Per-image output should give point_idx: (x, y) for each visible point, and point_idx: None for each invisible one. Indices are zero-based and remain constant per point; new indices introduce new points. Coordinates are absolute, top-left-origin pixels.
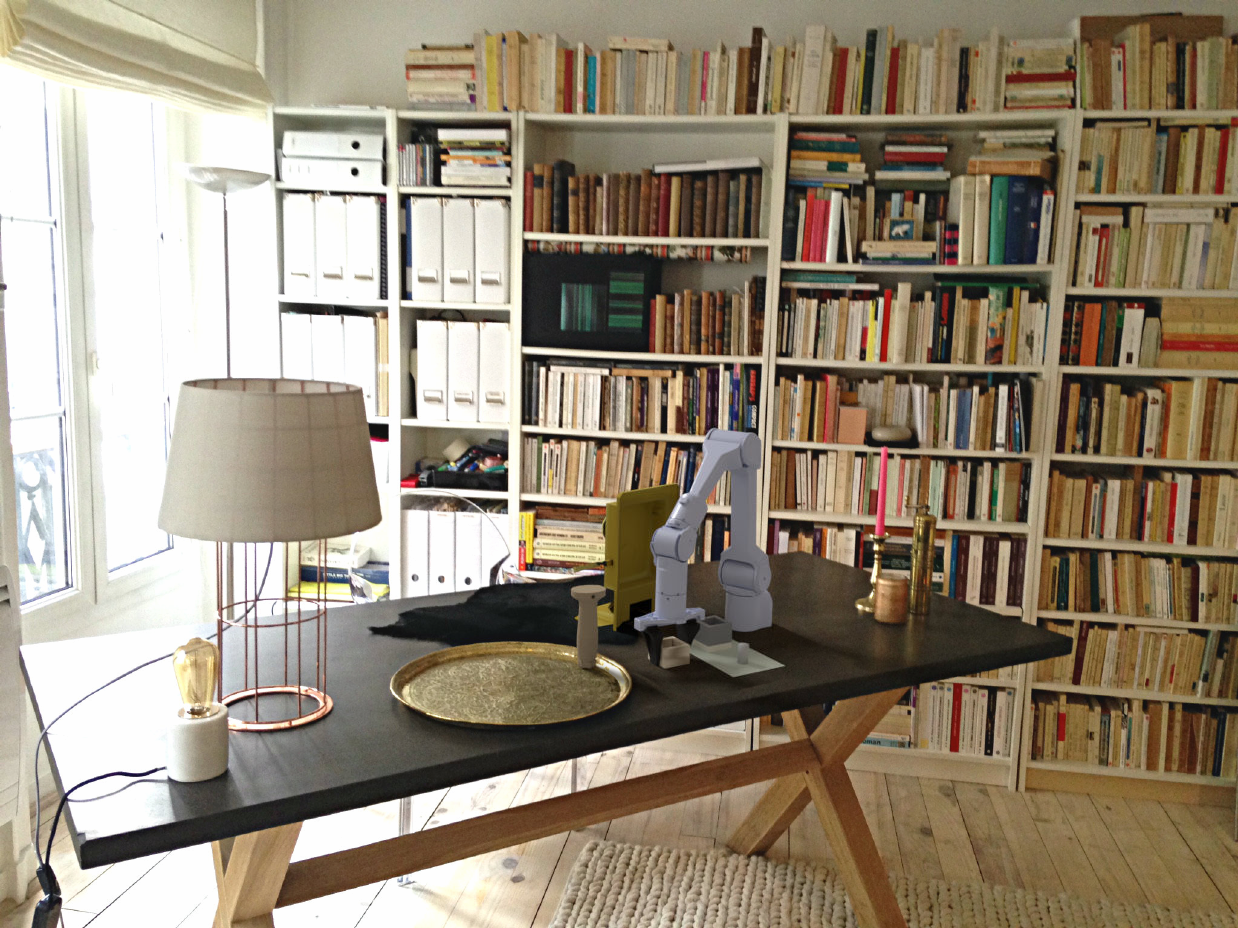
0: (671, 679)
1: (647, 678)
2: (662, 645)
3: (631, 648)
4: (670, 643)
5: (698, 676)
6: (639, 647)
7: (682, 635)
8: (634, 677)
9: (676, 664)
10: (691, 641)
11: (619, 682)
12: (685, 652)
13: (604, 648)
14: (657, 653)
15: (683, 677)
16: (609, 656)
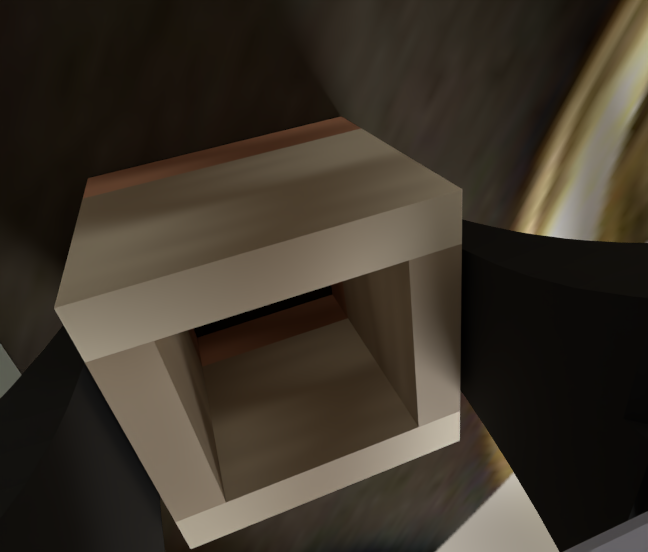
0: (314, 24)
1: (468, 104)
2: (318, 417)
3: (335, 520)
4: (233, 452)
5: (18, 12)
6: (292, 534)
7: (125, 515)
8: (527, 145)
9: (242, 167)
10: (4, 410)
11: (642, 86)
12: (138, 242)
13: (444, 508)
14: (472, 224)
15: (190, 36)
16: (473, 434)
